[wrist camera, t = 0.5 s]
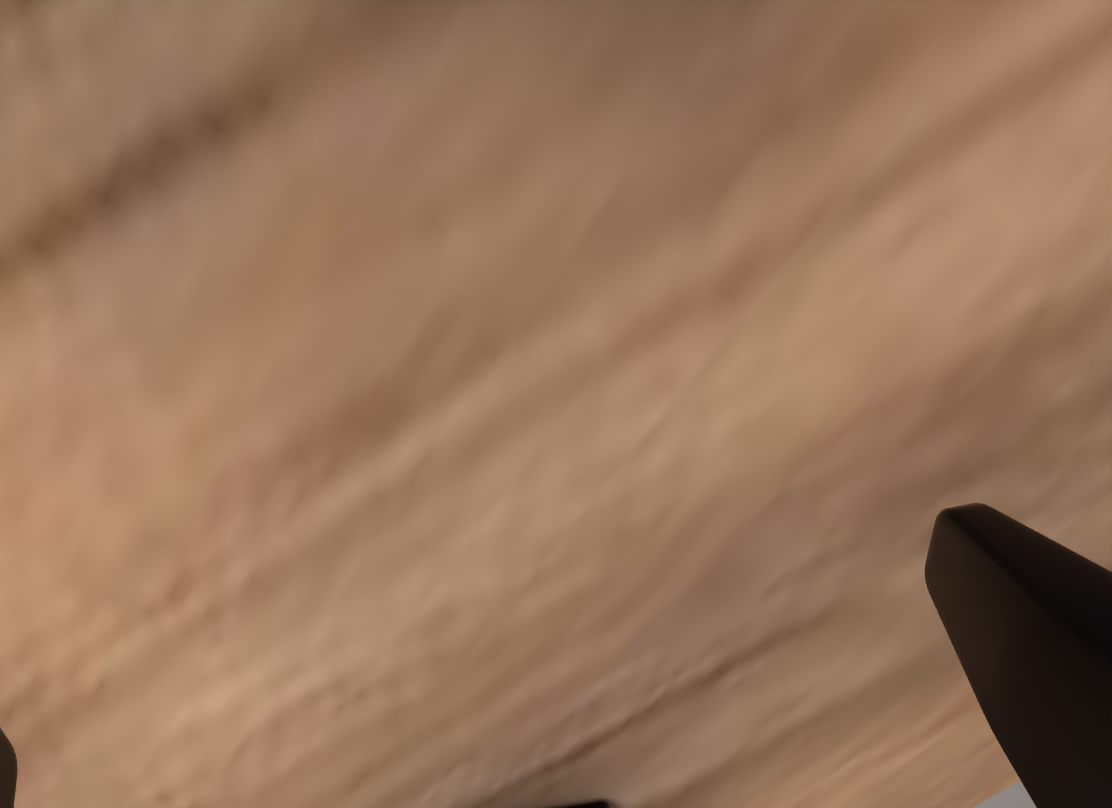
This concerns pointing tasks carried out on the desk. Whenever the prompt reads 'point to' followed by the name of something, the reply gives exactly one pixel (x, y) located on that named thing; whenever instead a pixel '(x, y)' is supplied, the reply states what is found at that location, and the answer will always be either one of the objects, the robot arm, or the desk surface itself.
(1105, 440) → the desk surface
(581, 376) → the desk surface
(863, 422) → the desk surface
